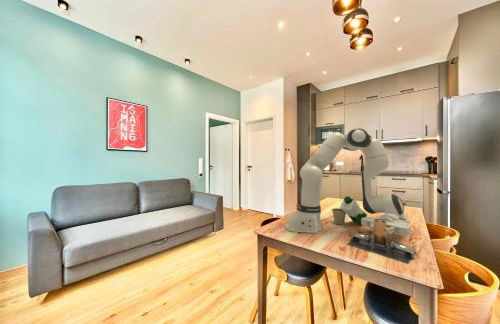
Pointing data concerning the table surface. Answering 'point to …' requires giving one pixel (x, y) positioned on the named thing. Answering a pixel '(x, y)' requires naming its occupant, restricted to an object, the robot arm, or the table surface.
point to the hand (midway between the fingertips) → (379, 229)
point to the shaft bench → (390, 251)
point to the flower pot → (338, 216)
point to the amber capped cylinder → (380, 233)
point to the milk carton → (352, 209)
